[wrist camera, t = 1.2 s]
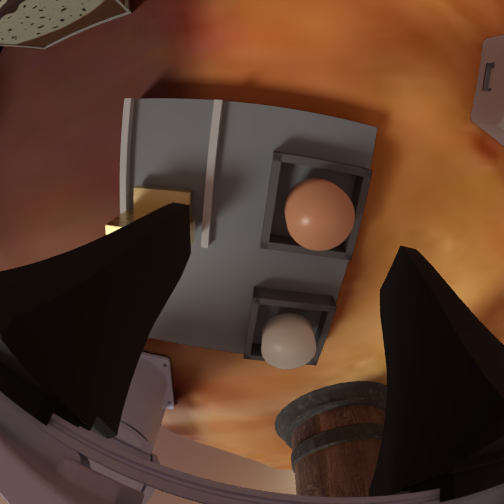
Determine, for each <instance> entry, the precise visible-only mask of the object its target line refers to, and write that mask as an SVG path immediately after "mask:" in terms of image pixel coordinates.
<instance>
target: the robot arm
mask: <svg viewBox="0 0 504 504" xmlns="http://www.w3.org/2000/svg"><path fill="white" fill-rule="evenodd" d="M190 255H191V239H190V207H189V205H187V204H181V203H174V202H173V203H170V204H167V205H165V206H163V207H161V208H159V209H157V210H155V211H153V212H151V213H149V214H147V215H145V216H143V217H141V218H139V219H137V220H135V221H133V222H131V223H129V224H128V225H126V226H124V227H121V228H119V229H117V230H115V231H113V232H111V233H109V234H107V235H105V236H103V237H101V238H99V239H97V240H95V241H93V242H90V243H88V244H86V245H83V246H81V247H78V248H76V249H74V250H71V251H68V252H66V253H63V254H60V255H57V256H54V257H51V258H48V259H46V260H43V261H40V262H36V263H33V264H29V265H26V266H22V267H18V268H14V269H10V270H5V271H0V494H1V496H2V497H3V498H4V499H5V500H6V502H8V504H146V503H147V502H148V501H149V499H150V498H151V497H152V495H153V493H154V491H155V489H158V490H161V491H164V492H167V493H170V494H173V495H176V496H179V497H182V498H185V499H189V500H192V501H196V502H199V503H203V504H504V345H503V344H502V343H501V342H500V341H499V340H498V339H497V338H496V337H495V336H494V335H493V334H492V333H491V332H490V331H489V330H488V329H487V328H486V327H485V326H484V325H483V324H482V323H481V322H480V321H479V320H478V319H477V317H476V316H475V315H474V314H473V313H472V312H471V311H470V310H469V308H468V307H467V306H466V305H465V304H464V303H463V302H462V300H461V299H460V298H459V297H458V296H457V295H456V293H455V292H454V291H453V290H452V289H451V287H450V286H449V285H448V284H447V283H446V281H445V280H444V279H443V278H442V277H441V276H440V274H439V273H438V272H437V271H436V270H435V269H434V267H433V266H432V265H431V264H430V263H429V262H428V261H427V260H426V259H425V258H424V256H423V255H422V254H420V253H419V252H418V251H417V250H416V249H412V248H408V247H404V246H400V248H399V250H398V253H397V255H396V257H395V259H394V262H393V264H392V266H391V268H390V270H389V272H388V275H387V277H386V279H385V281H384V283H383V285H382V287H381V289H380V316H381V324H382V332H383V340H384V348H385V357H386V367H387V398H386V411H385V420H384V429H383V435H382V441H381V446H380V451H379V456H378V460H377V464H376V468H375V472H374V475H373V479H372V482H371V485H370V488H369V497H317V496H302V495H291V494H282V493H274V492H267V491H261V490H255V489H249V488H244V487H239V486H234V485H229V484H224V483H220V482H216V481H212V480H208V479H204V478H200V477H197V476H193V475H190V474H187V473H184V472H180V471H177V470H174V469H171V468H168V467H165V466H162V465H160V463H159V460H158V457H157V455H155V454H153V453H152V449H153V446H154V444H155V442H156V439H157V435H158V432H159V429H160V426H161V422H162V419H163V416H164V413H165V409H166V408H168V409H174V406H175V405H174V396H173V387H172V377H171V366H170V359H169V358H167V357H164V356H159V355H154V354H150V353H145V352H142V350H143V348H144V346H145V343H146V341H147V338H148V336H149V334H150V332H151V330H152V328H153V326H154V324H155V322H156V320H157V318H158V317H159V315H160V313H161V311H162V310H163V308H164V306H165V304H166V303H167V301H168V299H169V297H170V296H171V294H172V292H173V291H174V289H175V287H176V285H177V284H178V282H179V280H180V278H181V276H182V274H183V272H184V269H185V267H186V265H187V262H188V260H189V257H190Z"/></svg>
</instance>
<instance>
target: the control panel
mask: <svg viewBox="0 0 504 504" xmlns="http://www.w3.org/2000/svg"><path fill="white" fill-rule="evenodd" d="M376 134H377V127H374V126H370V125H366V124H362V123H358V122H354V121H350V120H346V119H341V118H337V117H332V116H327V115H322V114H317V113H312V112H307V111H301V110H295V109H289V108H283V107H276V106H268V105H261V104H252V103H243V102H232V101H223V100H216V99H214V100H204V99H175V98H149V99H132V98H127V99H124V109H123V121H122V135H121V156H120V214H122V213H123V212H125V211H126V210H134V187H136V186H138V185H141V186H154V187H165V188H176V189H187V190H193V199H192V215H191V217H196V227H195V240H194V242H193V244H192V246H191V255H190V257H189V260H188V262H187V265H186V267H185V269H184V272H183V274H182V276H181V278H180V280H179V282H178V284H177V285H176V287H175V289H174V291H173V292H172V294H171V296H170V297H169V299H168V301H167V303H166V304H165V306H164V308H163V310H162V311H161V313H160V315H159V317H158V318H157V320H156V322H155V324H154V326H153V328H152V330H151V332H150V334H149V336H148V338H152V339H157V340H162V341H167V342H172V343H178V344H183V345H189V346H195V347H201V348H207V349H213V350H220V351H227V352H234V353H242V354H244V359H252V360H261V361H265V360H264V358H263V356H262V353H261V345H262V330H263V327H264V325H265V323H266V322H267V321H268V320H269V319H271V318H272V317H274V316H276V315H279V314H283V313H295V314H299V315H302V316H304V317H305V318H307V319H308V320H309V321H310V323H311V324H312V327H313V331H314V337H315V342H316V353H315V355H314V357H313V358H312V359H311V360H310V361H309V362H308V363H307V364H306V365H316V364H317V362H318V359H319V356H320V354H321V351H322V348H323V345H324V343H325V340H326V337H327V334H328V331H329V328H330V326H331V323H332V320H333V317H334V314H335V311H336V308H337V306H336V301H337V297H338V294H339V291H340V288H341V284H342V281H343V278H344V274H345V271H346V267H347V264H348V260H351V258H352V254H353V251H354V247H355V243H356V239H357V235H358V232H359V228H360V224H361V219H362V215H363V211H364V207H365V203H366V198H367V194H368V189H369V184H370V180H371V175H372V170H370V167H371V162H372V157H373V151H374V145H375V140H376ZM313 177H318V178H324V179H327V180H330V181H331V182H333V183H334V184H336V185H337V186H338V187H339V188H340V189H341V190H343V191H344V192H345V193H346V194H347V195H348V197H349V198H350V200H351V202H352V204H353V207H354V211H355V220H354V225H353V228H352V230H351V232H350V234H349V236H348V237H347V238H346V239H345V240H344V241H343V242H342V243H341V244H339V245H338V246H336V247H334V248H332V249H328V250H323V251H315V250H310V249H307V248H305V247H303V246H301V245H299V244H298V243H297V242H296V241H295V240H294V239H293V238H292V236H291V235H290V233H289V231H288V228H287V223H286V218H285V213H284V205H285V200H286V197H287V195H288V193H289V192H290V190H291V189H292V188H293V187H294V186H295V185H296V184H297V183H299V182H300V181H302V180H305V179H308V178H313Z"/></svg>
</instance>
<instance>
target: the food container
mask: <svg viewBox="0 0 504 504" xmlns="http://www.w3.org/2000/svg"><path fill="white" fill-rule="evenodd" d="M131 13H132V8H131V1H130V0H0V46H13V47H27V48H38V49H46V48H48V47H50V46H52V45H54V44H56V43H58V42H60V41H62V40H64V39H66V38H68V37H71V36H73V35H75V34H77V33H80V32H82V31H84V30H87V29H89V28H92V27H94V26H97V25H99V24H102V23H104V22H107V21H110V20H113V19H116V18H118V17H121V16H125V15H128V14H131Z"/></svg>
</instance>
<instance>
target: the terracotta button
mask: <svg viewBox="0 0 504 504" xmlns="http://www.w3.org/2000/svg"><path fill="white" fill-rule="evenodd" d="M284 213H285V218H286V223H287V228H288V231H289V233H290V235H291V236H292V238H293V239H294V240H295V241H296V242H297V243H298V244H299V245H301V246H303V247H305V248H307V249H310V250H315V251H323V250H328V249H332V248H334V247H336V246H338V245H339V244H341V243H342V242H343V241H344V240H345V239H346V238H347V237H348V236H349V234H350V232H351V230H352V228H353V225H354V220H355V211H354V207H353V204H352V202H351V200H350V198H349V197H348V195H347V194H346V193H345V192H344V191H343V190H341V189H340V188H339V187H338V186H337V185H336V184H334V183H333V182H331V181H330V180H327V179H324V178H318V177H313V178H308V179H305V180H302V181H300V182H299V183H297V184H296V185H295V186H294V187H293V188H292V189H291V190H290V192H289V193H288V195H287V197H286V200H285V205H284Z"/></svg>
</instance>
